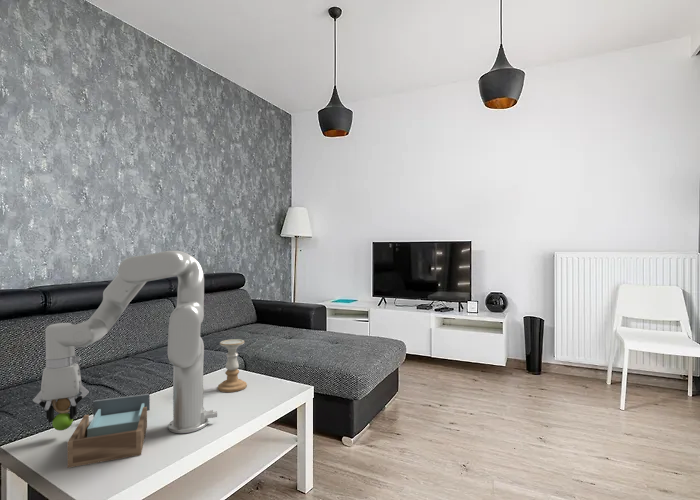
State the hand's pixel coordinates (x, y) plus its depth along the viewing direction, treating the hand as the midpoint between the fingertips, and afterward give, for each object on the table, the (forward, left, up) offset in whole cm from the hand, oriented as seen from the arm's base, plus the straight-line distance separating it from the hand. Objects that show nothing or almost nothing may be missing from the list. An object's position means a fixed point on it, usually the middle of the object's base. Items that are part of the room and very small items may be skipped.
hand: (62, 418), depth 128 cm
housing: (-15, +12, -6) cm, 21 cm away
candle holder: (-55, -28, -6) cm, 63 cm away
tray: (-15, -2, -5) cm, 16 cm away
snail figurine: (0, 0, -4) cm, 4 cm away
